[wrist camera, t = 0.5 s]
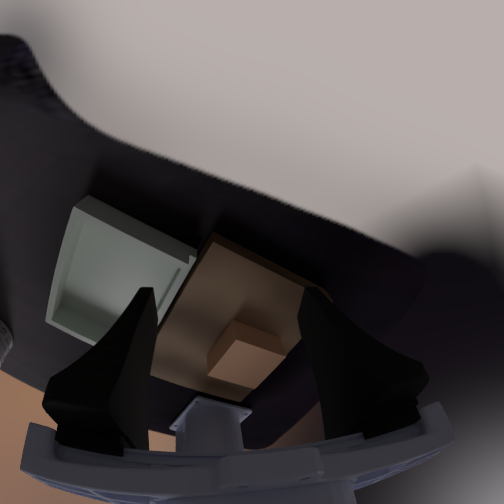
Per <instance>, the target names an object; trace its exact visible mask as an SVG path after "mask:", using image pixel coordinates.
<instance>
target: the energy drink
mask: <svg viewBox="0 0 504 504" xmlns="http://www.w3.org/2000/svg"><path fill="white" fill-rule="evenodd" d="M12 345H13V338H12V334H11V332H10V330H9V329H8V327H7V326H6V324H5V323H4V322H3V321H2V320H1V319H0V367H1V365H2V363H3V361H4V360H5V358H6V356H7V354H8V352H9V351H10V349H11V347H12Z"/></svg>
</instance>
